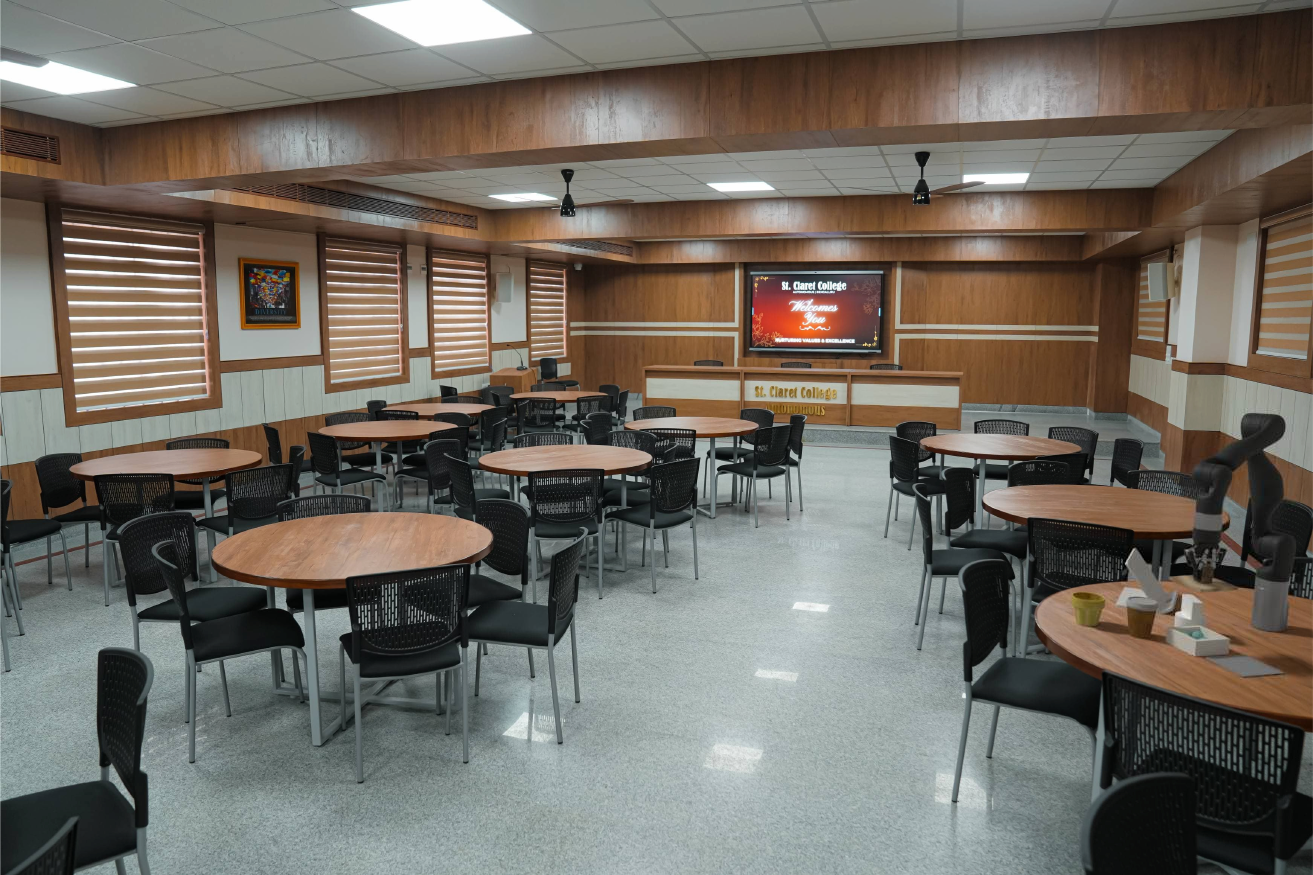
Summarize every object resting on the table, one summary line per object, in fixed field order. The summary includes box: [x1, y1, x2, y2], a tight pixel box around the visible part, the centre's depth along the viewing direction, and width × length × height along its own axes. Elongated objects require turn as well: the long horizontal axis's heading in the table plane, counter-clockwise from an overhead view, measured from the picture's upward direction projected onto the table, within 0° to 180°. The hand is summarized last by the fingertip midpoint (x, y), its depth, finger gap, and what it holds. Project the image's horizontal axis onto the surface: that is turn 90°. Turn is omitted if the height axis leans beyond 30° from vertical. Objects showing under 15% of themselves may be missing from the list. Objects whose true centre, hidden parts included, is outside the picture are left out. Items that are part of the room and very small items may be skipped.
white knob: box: [1173, 593, 1208, 628], centre depth 283 cm, size 9×9×12 cm
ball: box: [1192, 631, 1204, 640], centre depth 274 cm, size 3×3×3 cm
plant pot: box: [1070, 591, 1106, 627], centre depth 293 cm, size 10×10×10 cm
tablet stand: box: [1115, 547, 1180, 615], centre depth 315 cm, size 18×25×17 cm
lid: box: [1168, 564, 1239, 593], centre depth 268 cm, size 13×13×6 cm
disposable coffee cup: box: [1126, 596, 1159, 640], centre depth 282 cm, size 10×10×12 cm
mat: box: [1205, 654, 1285, 678], centre depth 257 cm, size 14×14×1 cm
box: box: [1165, 625, 1231, 658], centre depth 271 cm, size 12×12×5 cm
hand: (1202, 579), depth 268 cm, fingers closed on lid, 3 cm apart
